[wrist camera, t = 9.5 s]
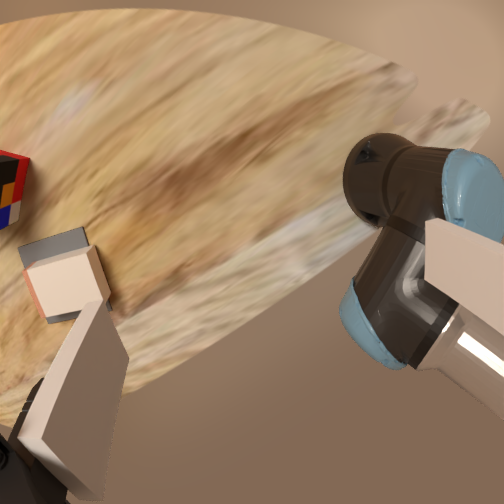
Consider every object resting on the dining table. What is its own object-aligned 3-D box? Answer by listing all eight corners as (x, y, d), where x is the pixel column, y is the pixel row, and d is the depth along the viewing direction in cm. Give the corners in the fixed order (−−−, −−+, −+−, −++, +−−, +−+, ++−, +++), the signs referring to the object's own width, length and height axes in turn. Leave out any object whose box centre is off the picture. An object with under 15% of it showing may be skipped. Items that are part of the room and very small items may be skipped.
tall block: (86, 253, 39) (21, 271, 38) (105, 304, 42) (41, 318, 41) (94, 244, 43) (32, 262, 42) (111, 292, 46) (50, 306, 45)
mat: (82, 226, 42) (82, 227, 42) (112, 309, 47) (111, 310, 47) (18, 247, 41) (17, 248, 41) (49, 322, 46) (48, 323, 46)
